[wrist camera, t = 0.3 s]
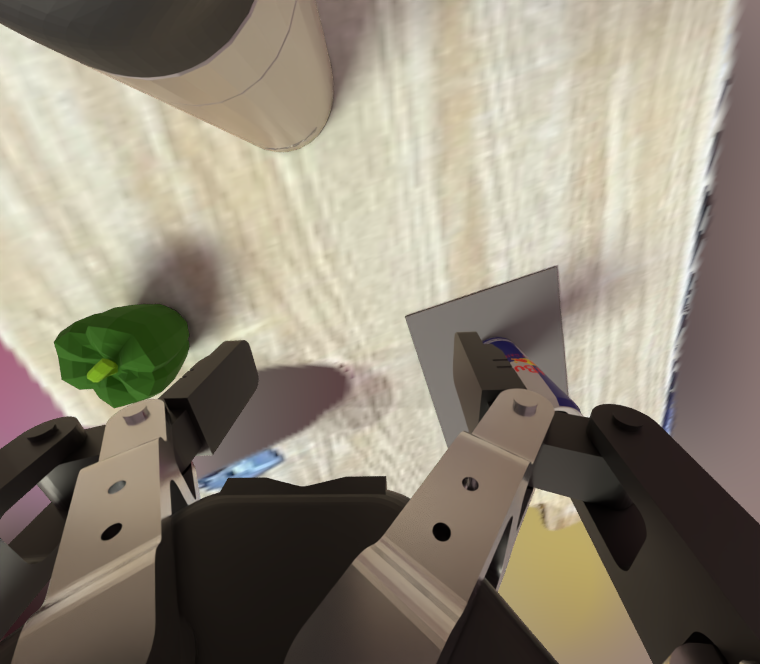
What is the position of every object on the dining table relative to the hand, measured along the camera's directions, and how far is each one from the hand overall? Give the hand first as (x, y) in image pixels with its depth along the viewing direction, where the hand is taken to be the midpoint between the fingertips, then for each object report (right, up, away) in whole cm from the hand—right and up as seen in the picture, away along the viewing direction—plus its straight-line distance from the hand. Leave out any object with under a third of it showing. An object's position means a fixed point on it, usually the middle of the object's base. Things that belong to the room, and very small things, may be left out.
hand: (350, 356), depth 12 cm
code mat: (+15, -5, +24) cm, 29 cm away
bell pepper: (-21, +1, +19) cm, 29 cm away
